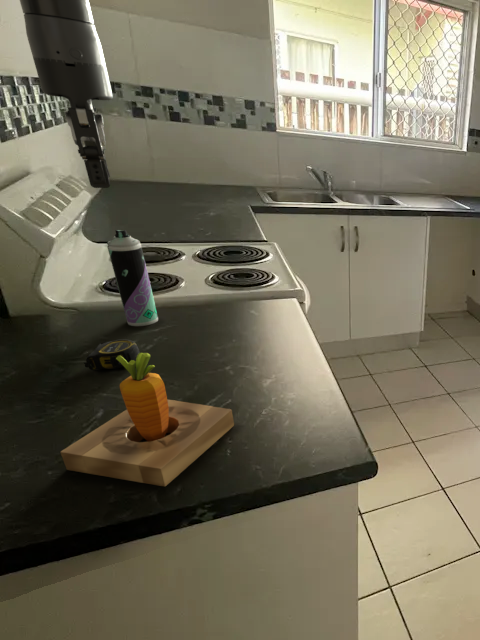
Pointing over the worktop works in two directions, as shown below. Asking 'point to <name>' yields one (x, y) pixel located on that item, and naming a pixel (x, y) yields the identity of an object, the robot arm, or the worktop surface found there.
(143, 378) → the carrot
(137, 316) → the spray can
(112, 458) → the socket pad
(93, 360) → the tape measure
